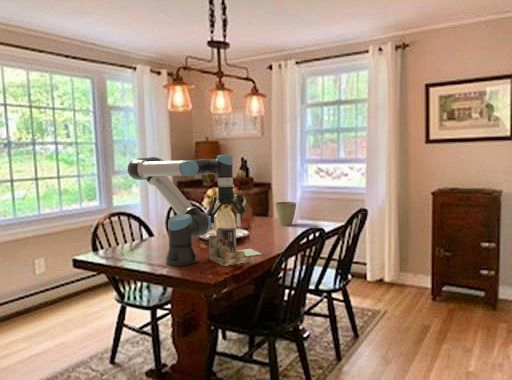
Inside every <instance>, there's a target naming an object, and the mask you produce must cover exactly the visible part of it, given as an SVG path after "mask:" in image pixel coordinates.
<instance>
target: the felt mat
mask: <svg viewBox="0 0 512 380" xmlns="http://www.w3.org/2000/svg"><path fill="white" fill-rule="evenodd" d="M237 251H243V252H245V255H246V256H251V257H256V255H257V256H261V255H262V253H261V252H259V251H256V250H255V249H252V248H246V249H239V250H237Z"/></svg>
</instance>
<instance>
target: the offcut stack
mask: <svg viewBox="0 0 512 380" xmlns="http://www.w3.org/2000/svg"><path fill="white" fill-rule="evenodd" d="M242 257H245V252H243V251H238V250H236V251H235V252H229V253H225V258H222V259H223V260H230V259H236V258H242Z"/></svg>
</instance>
